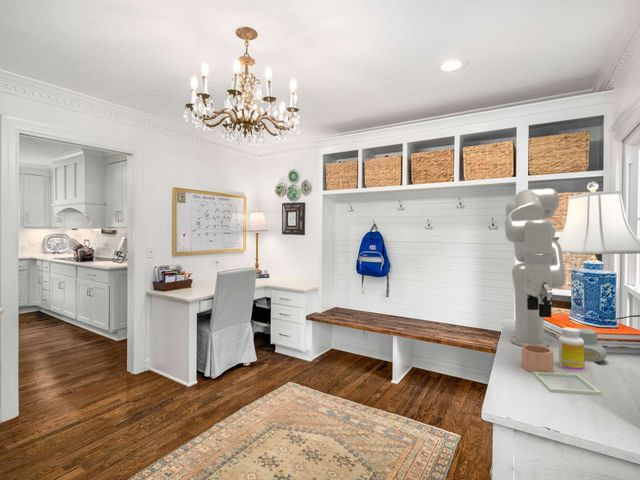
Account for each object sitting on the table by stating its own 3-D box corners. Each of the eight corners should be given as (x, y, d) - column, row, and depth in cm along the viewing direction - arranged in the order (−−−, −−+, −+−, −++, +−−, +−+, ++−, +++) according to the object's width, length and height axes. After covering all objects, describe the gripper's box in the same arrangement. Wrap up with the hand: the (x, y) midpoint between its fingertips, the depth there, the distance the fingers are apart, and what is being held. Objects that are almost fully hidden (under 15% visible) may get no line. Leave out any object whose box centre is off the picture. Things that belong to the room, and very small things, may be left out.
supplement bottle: (589, 374, 107) (588, 332, 106) (565, 372, 108) (564, 331, 108) (577, 365, 113) (577, 326, 113) (555, 364, 115) (554, 326, 114)
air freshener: (566, 360, 118) (566, 331, 118) (566, 353, 125) (566, 325, 125) (608, 366, 112) (608, 335, 112) (605, 358, 119) (605, 329, 119)
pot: (517, 365, 115) (517, 344, 115) (546, 366, 113) (546, 345, 113) (527, 375, 107) (526, 352, 107) (559, 377, 105) (558, 354, 105)
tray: (533, 376, 106) (533, 371, 106) (577, 379, 103) (577, 373, 103) (550, 395, 94) (550, 389, 94) (601, 398, 91) (601, 392, 91)
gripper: (515, 257, 119) (516, 307, 119) (535, 261, 102) (536, 319, 102) (540, 257, 117) (540, 307, 117) (564, 261, 100) (565, 320, 101)
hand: (538, 313), depth 110 cm, fingers open, 9 cm apart
